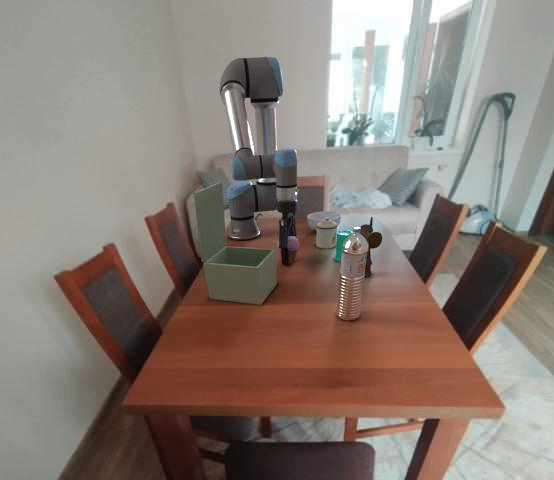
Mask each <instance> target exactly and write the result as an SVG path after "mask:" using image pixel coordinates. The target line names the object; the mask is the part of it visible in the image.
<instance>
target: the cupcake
mask: <svg viewBox="0 0 554 480" xmlns="http://www.w3.org/2000/svg"><path fill="white" fill-rule="evenodd" d="M296 237H297V236H296ZM296 237H294V236H288V245H287V248H288V259H289V264H291V263H294V261H295V260H296V259H297V254H298V251H299V249H300V242H299V240H298V237H297V238H296ZM276 247H277V250H278V251H279V254H280V255H281V249H279V240H278V241H277V243H276Z"/></svg>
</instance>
